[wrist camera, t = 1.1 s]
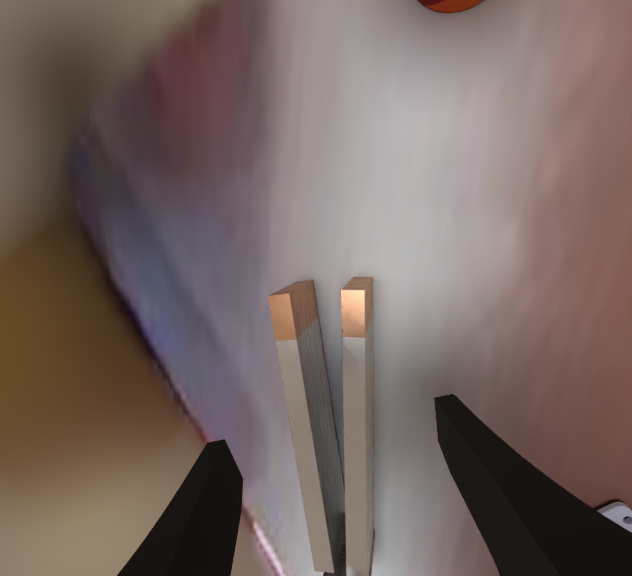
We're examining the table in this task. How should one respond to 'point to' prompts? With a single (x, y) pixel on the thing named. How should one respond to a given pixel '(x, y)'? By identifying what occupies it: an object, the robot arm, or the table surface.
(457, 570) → the table surface
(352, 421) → the tongs fixed arm
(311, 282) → the tongs moving arm
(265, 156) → the table surface
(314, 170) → the table surface
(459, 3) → the paper cup
